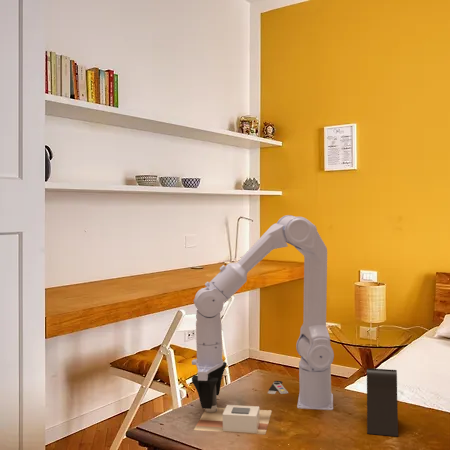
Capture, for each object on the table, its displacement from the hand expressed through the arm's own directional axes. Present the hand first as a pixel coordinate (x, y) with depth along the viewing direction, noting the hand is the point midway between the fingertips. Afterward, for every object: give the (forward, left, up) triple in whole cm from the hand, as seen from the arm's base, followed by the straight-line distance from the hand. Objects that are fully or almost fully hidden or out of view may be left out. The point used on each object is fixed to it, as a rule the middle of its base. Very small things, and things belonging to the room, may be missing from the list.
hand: (210, 401), depth 120 cm
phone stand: (+2, +37, -3) cm, 37 cm away
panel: (+4, +6, -3) cm, 8 cm away
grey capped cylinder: (0, 0, -2) cm, 2 cm away
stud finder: (+7, +8, -2) cm, 11 cm away
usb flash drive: (-16, +14, -3) cm, 22 cm away
